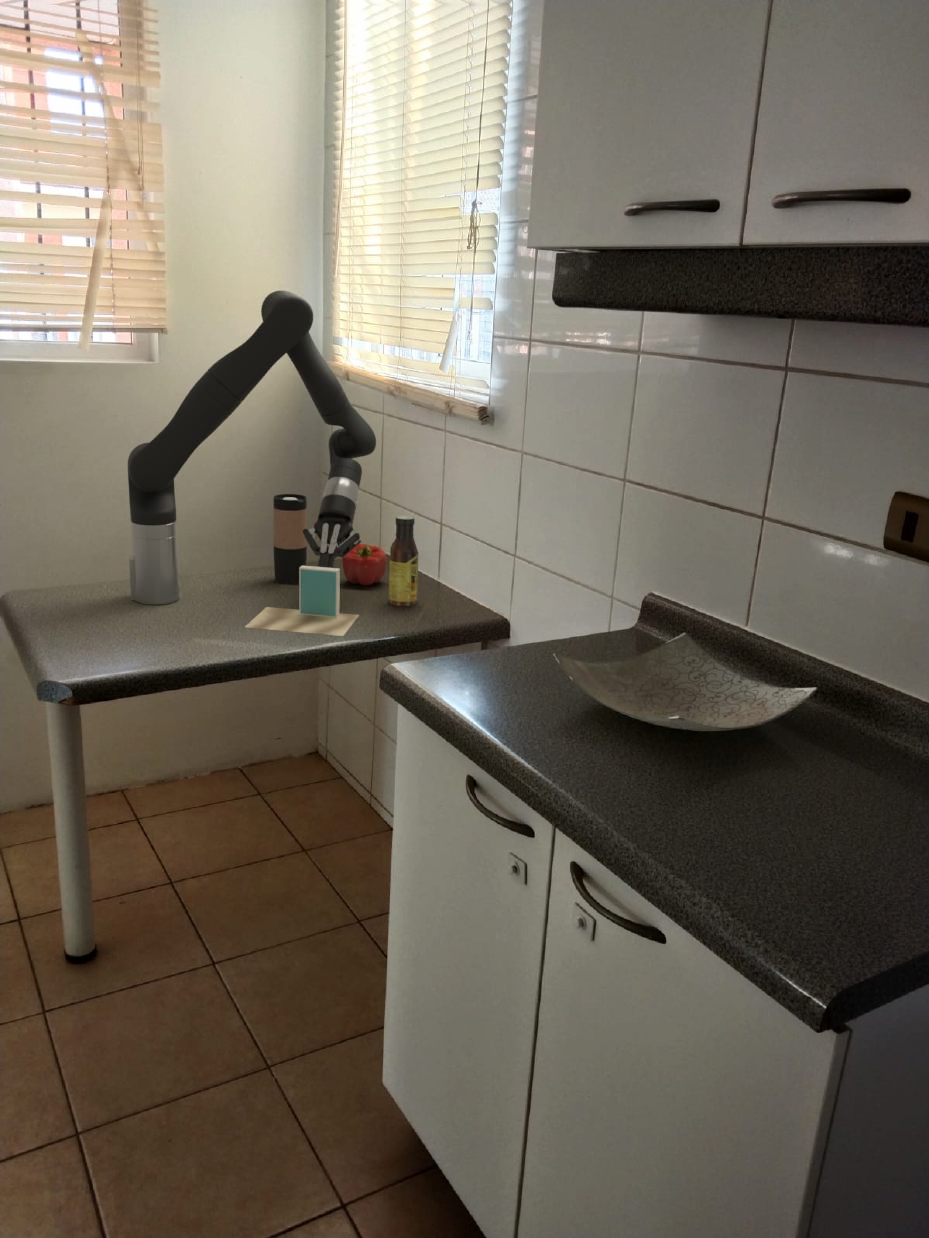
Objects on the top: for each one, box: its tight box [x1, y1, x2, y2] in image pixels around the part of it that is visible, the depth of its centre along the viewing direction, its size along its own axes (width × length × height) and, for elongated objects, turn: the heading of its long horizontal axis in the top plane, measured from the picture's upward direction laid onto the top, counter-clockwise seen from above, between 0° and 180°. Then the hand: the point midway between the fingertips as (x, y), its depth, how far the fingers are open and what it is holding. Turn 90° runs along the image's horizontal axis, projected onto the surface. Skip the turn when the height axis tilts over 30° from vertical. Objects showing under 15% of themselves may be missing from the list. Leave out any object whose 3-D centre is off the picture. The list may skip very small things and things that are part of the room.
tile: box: [298, 565, 341, 618], centre depth 207 cm, size 8×2×10 cm, turn 83°
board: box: [244, 606, 360, 637], centre depth 204 cm, size 20×14×1 cm
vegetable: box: [341, 543, 388, 586], centre depth 235 cm, size 11×10×10 cm
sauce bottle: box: [388, 515, 419, 607], centre depth 218 cm, size 7×6×20 cm
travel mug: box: [272, 493, 308, 586], centre depth 232 cm, size 8×8×20 cm
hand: (324, 571), depth 210 cm, fingers closed
